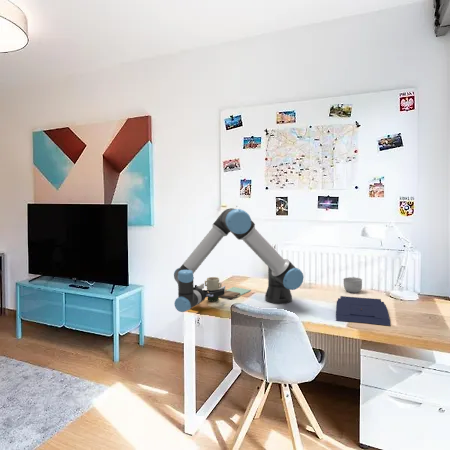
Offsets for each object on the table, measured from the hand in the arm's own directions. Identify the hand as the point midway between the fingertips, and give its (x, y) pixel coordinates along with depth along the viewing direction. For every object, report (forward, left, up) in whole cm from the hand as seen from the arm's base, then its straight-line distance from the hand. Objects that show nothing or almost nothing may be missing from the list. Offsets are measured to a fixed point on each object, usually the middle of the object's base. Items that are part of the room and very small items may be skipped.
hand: (213, 286), depth 207 cm
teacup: (-61, -62, -8) cm, 87 cm away
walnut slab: (-1, -10, -8) cm, 13 cm away
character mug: (-1, +2, -8) cm, 8 cm away
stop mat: (-2, -22, -8) cm, 23 cm away
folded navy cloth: (-75, -23, -8) cm, 79 cm away
